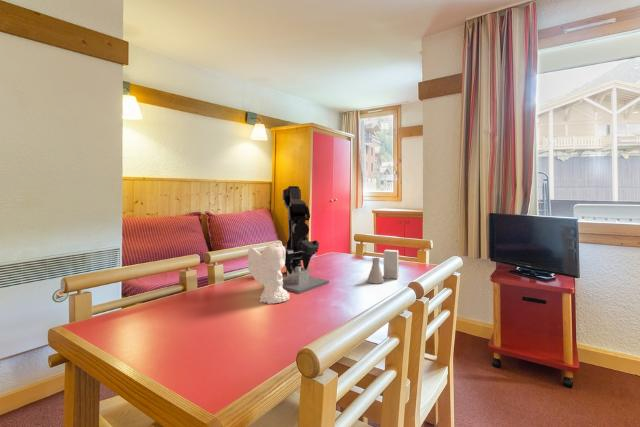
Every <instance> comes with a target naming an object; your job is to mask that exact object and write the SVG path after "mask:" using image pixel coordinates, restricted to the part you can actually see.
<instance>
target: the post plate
mask: <svg viewBox="0 0 640 427" xmlns="http://www.w3.org/2000/svg"><path fill="white" fill-rule="evenodd" d="M301 268H302V266H301V267H300V266H296V267H295V269H296V271H301ZM282 277H283V276H282ZM282 282H283V285H282V287H283V289H284V290H286V291H287V292H288V291H289V292H293V293H297V294H303V293H305V292H308V291H311V290H313V289H316V288H319V287H322V286H324V285H327V284H329V283H330V280H328V279H323V278H320V277H316V276H315V277H314V276H310V275H309V281H308V282H305V283H302V284H295V283H291V282H287V275H286V276H284V277H283V281H282Z"/></svg>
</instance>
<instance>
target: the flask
mask: <svg viewBox="0 0 640 427" xmlns="http://www.w3.org/2000/svg"><path fill="white" fill-rule="evenodd" d="M371 260H372V265H371V269H370V272H369V274H368V277H367V279H366V282H368V284H375V285H376V284H383V283H384V282H385V278H384V275H383V274H382V271H381V267H380V260H381V258H380V257H372V258H371Z"/></svg>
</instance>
